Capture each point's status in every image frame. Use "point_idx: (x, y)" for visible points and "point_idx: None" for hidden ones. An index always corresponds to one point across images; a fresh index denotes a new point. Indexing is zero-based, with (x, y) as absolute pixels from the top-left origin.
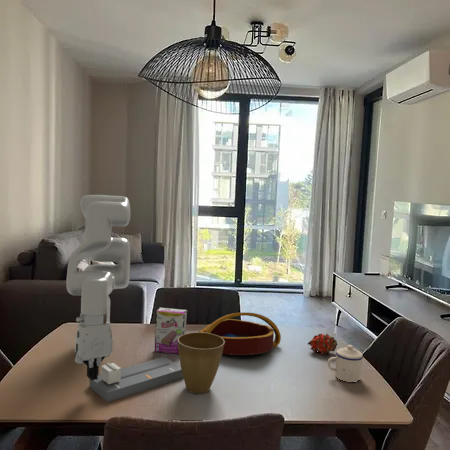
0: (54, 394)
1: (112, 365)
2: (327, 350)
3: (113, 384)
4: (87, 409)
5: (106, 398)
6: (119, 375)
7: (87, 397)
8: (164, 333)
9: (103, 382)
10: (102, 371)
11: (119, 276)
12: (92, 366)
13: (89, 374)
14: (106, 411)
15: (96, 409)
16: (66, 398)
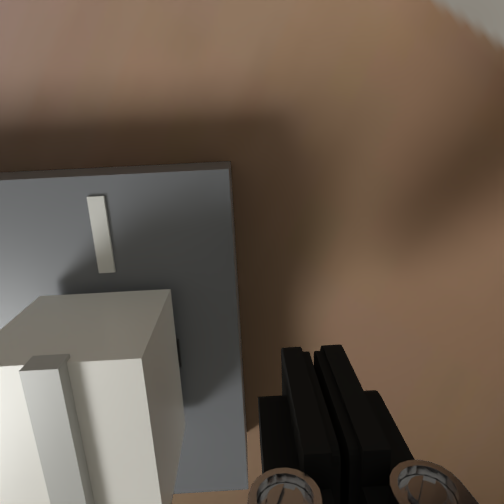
0: (468, 446)
1: (36, 486)
2: None
3: (121, 286)
4: (401, 146)
5: (231, 186)
6: (24, 322)
7: (321, 308)
8: None
9: (186, 363)
10: (171, 459)
11: None
12: (398, 477)
13: (383, 407)
14: (300, 26)
15: (349, 106)
16: (437, 366)
